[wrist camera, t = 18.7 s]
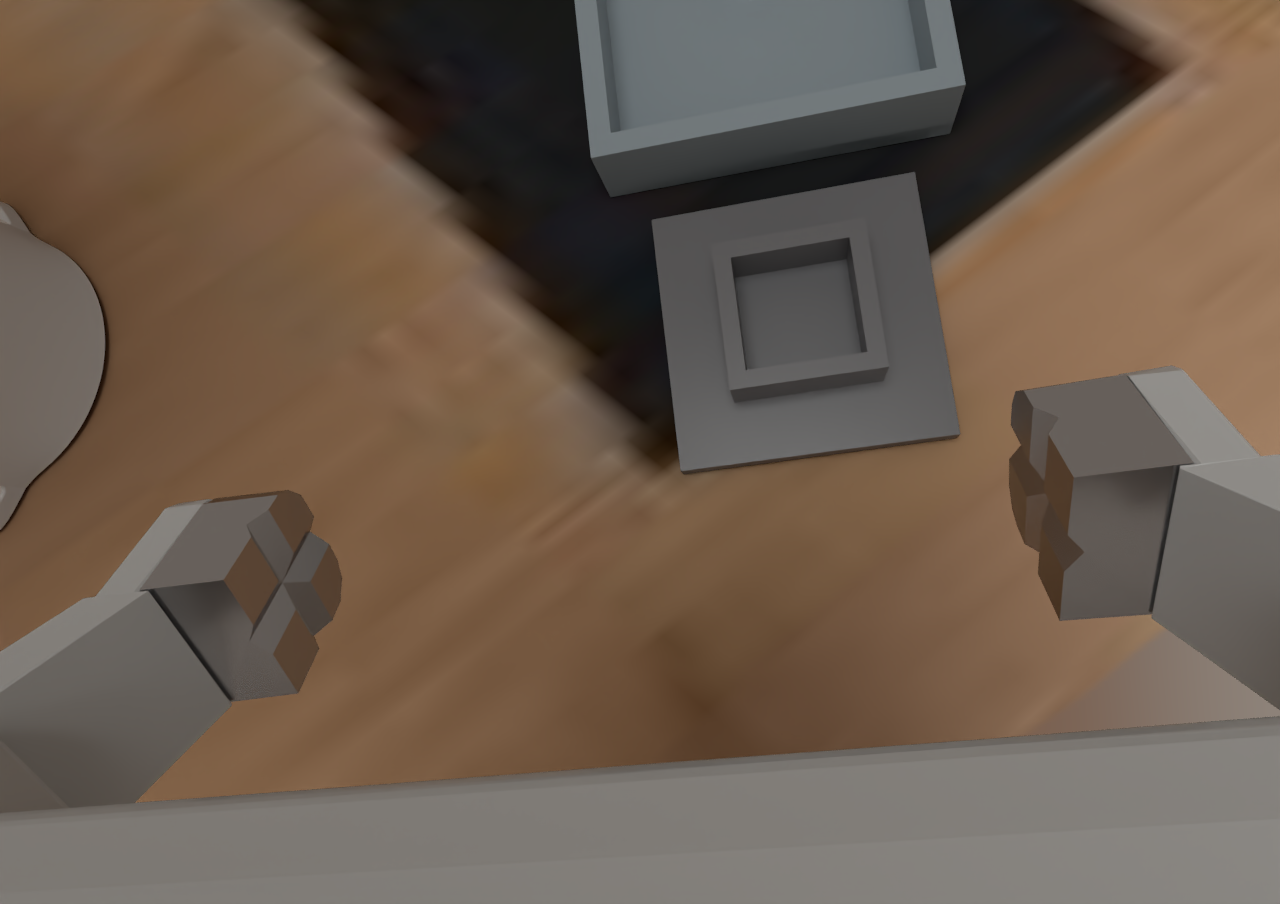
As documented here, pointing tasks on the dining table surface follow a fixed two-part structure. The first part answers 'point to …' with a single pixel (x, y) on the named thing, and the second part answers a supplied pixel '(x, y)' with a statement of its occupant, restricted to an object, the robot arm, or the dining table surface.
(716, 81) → the tray
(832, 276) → the plate
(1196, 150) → the dining table surface
